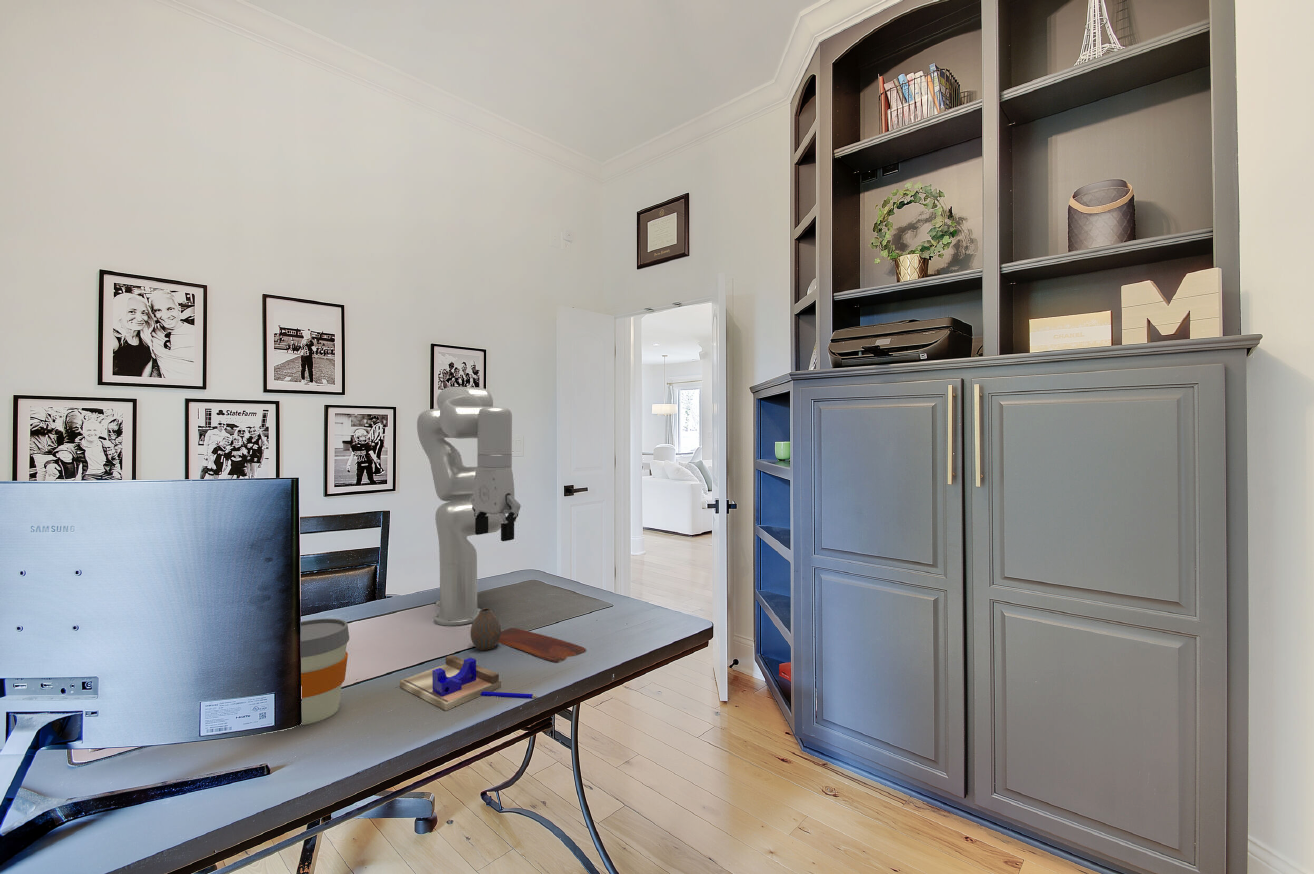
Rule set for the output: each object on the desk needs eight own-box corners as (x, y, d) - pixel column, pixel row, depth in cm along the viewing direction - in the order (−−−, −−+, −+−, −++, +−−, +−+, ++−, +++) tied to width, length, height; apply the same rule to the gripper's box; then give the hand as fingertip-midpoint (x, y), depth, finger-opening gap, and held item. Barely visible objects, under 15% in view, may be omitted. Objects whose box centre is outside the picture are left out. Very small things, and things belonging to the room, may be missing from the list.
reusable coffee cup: (352, 717, 100) (351, 633, 100) (266, 738, 94) (265, 647, 93) (347, 690, 111) (346, 613, 111) (269, 707, 104) (268, 625, 104)
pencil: (452, 695, 109) (451, 690, 109) (454, 693, 110) (454, 688, 110) (537, 700, 107) (537, 695, 107) (538, 698, 108) (538, 693, 108)
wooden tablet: (589, 652, 131) (589, 645, 131) (556, 667, 123) (556, 659, 123) (516, 628, 147) (516, 621, 147) (482, 639, 139) (482, 632, 139)
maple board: (399, 686, 112) (399, 673, 112) (454, 666, 122) (453, 653, 122) (445, 710, 103) (445, 695, 103) (500, 686, 112) (500, 673, 112)
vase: (507, 646, 133) (506, 609, 133) (480, 655, 128) (479, 616, 128) (491, 639, 138) (491, 603, 138) (464, 647, 133) (464, 609, 133)
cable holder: (441, 696, 105) (441, 675, 105) (432, 691, 108) (432, 670, 108) (480, 682, 111) (480, 661, 111) (470, 677, 114) (470, 657, 114)
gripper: (458, 460, 131) (458, 534, 132) (504, 465, 120) (503, 545, 121) (486, 458, 137) (486, 529, 138) (532, 463, 126) (531, 540, 127)
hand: (494, 536), depth 130 cm, fingers open, 9 cm apart
